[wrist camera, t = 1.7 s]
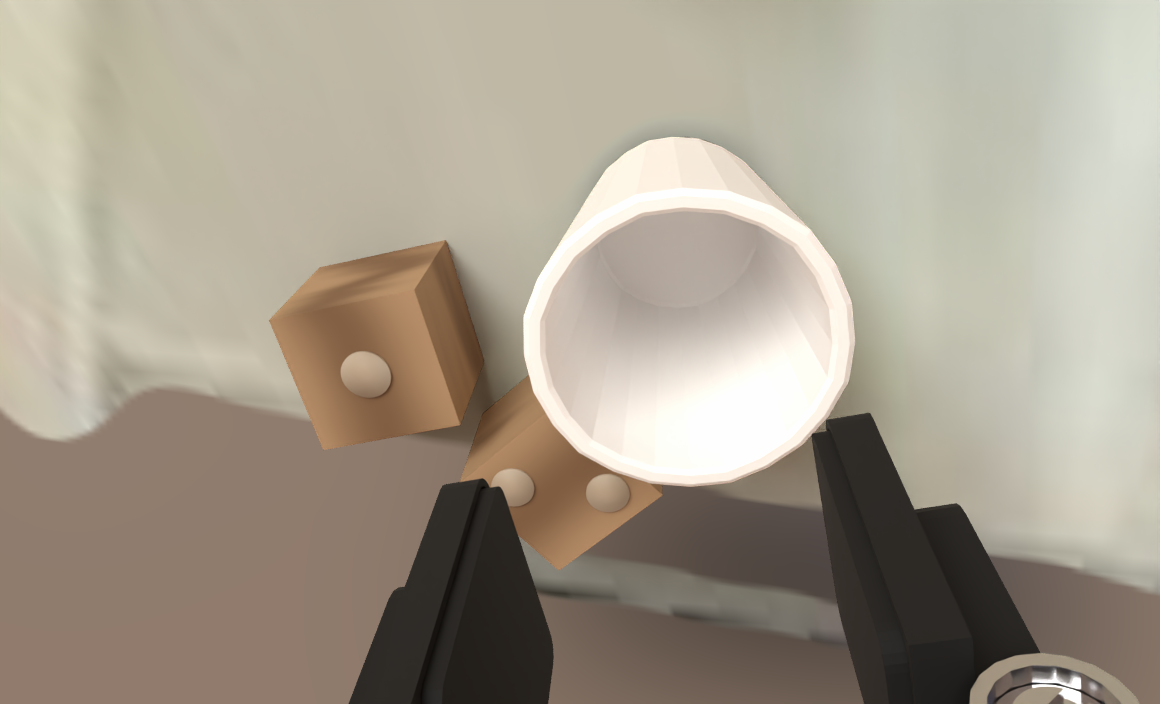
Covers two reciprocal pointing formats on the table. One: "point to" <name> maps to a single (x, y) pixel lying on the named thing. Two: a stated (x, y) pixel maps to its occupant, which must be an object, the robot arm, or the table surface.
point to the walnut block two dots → (550, 480)
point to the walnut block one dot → (381, 346)
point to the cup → (687, 321)
